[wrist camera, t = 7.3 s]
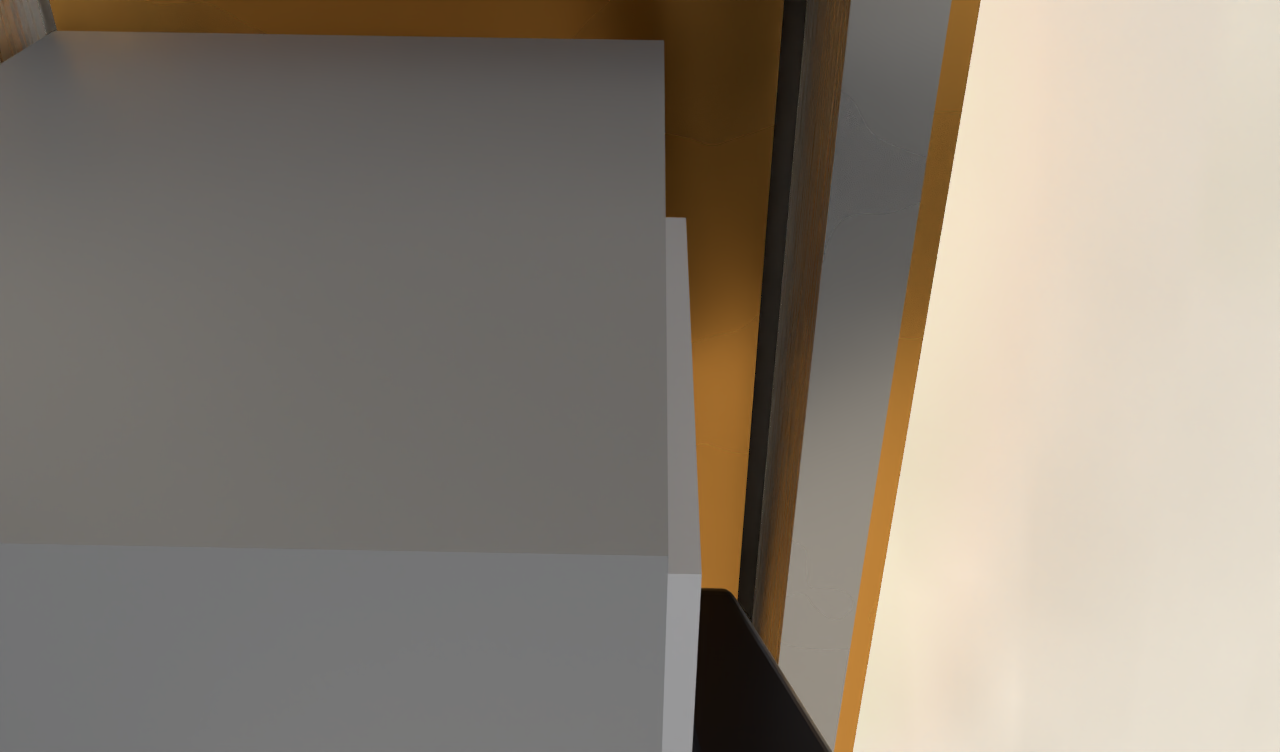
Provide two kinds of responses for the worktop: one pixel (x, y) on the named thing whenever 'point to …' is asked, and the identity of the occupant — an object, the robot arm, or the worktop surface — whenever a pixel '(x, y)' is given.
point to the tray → (746, 260)
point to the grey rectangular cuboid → (343, 397)
